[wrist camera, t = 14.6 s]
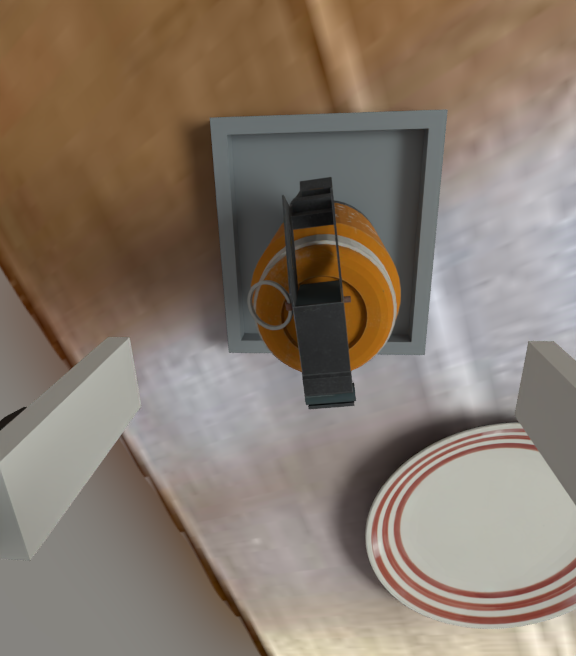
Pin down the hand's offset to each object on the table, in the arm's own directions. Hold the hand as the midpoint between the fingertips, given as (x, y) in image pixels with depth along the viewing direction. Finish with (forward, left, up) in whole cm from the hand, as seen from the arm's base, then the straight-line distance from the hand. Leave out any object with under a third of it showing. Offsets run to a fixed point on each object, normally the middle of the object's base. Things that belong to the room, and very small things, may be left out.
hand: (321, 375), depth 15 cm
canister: (0, 0, -25) cm, 25 cm away
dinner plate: (+30, +18, -26) cm, 44 cm away
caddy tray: (0, 0, -26) cm, 26 cm away
